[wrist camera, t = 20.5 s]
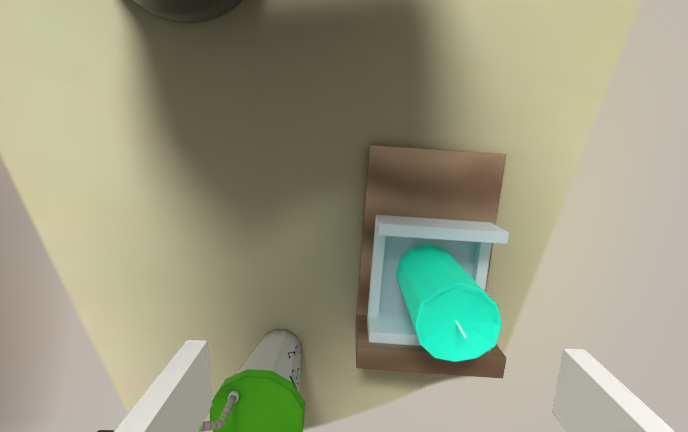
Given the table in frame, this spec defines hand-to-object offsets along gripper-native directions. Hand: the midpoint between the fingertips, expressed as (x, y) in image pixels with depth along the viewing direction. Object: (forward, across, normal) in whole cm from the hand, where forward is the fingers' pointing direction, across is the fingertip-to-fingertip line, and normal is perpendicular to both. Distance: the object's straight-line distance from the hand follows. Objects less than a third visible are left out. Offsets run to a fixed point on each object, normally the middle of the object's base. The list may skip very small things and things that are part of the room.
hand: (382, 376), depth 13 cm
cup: (+23, -8, -14) cm, 29 cm away
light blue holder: (+22, +6, -4) cm, 24 cm away
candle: (+22, +6, -4) cm, 23 cm away
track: (+23, +7, -2) cm, 24 cm away
